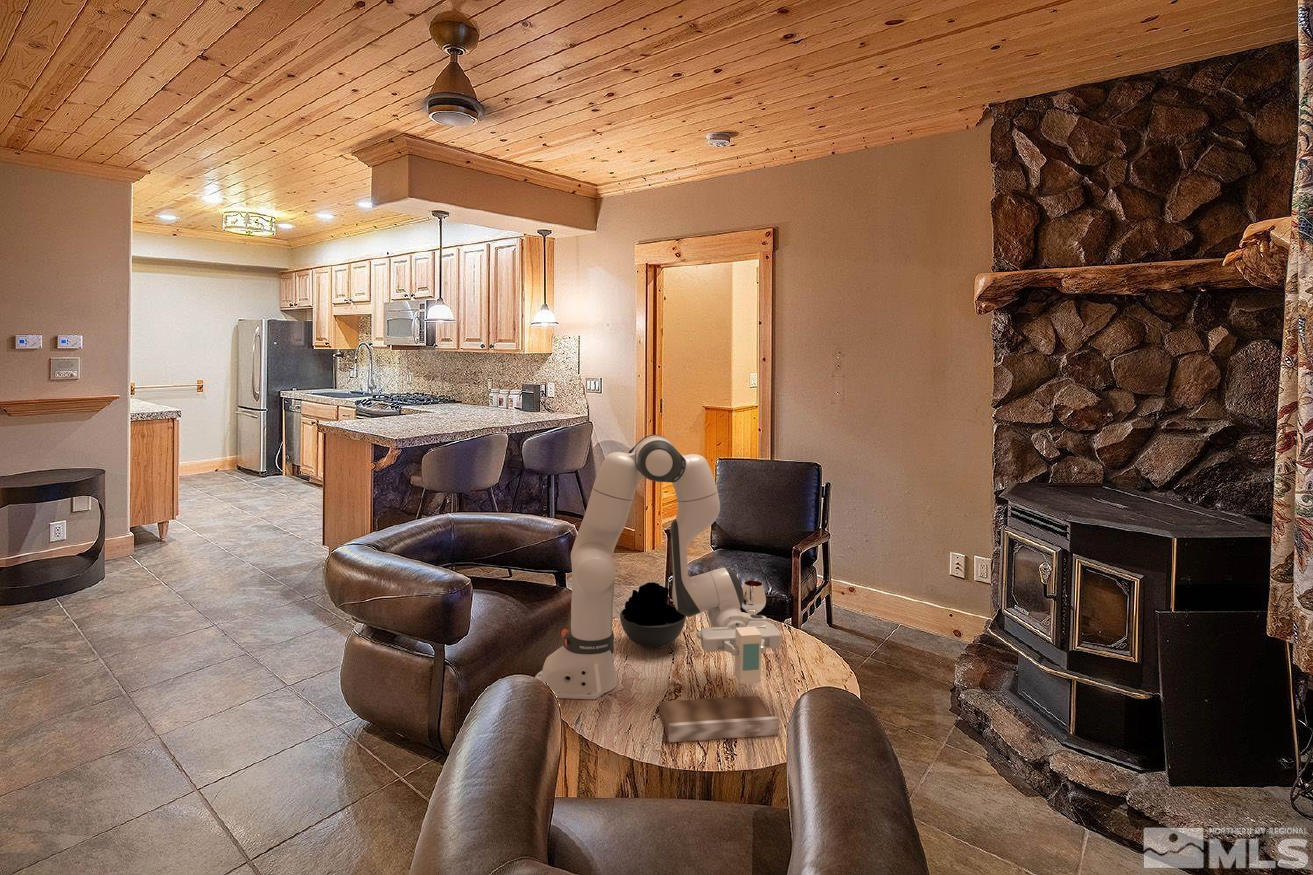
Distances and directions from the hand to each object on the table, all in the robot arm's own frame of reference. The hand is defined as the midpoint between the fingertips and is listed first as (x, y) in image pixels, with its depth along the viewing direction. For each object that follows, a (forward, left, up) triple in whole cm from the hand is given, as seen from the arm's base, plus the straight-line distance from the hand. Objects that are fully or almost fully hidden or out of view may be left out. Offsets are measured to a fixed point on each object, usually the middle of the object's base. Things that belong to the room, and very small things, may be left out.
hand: (748, 651), depth 168 cm
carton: (0, +1, -7) cm, 7 cm away
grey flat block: (-7, +2, -18) cm, 20 cm away
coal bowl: (-16, +47, -18) cm, 53 cm away
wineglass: (+16, +49, -18) cm, 55 cm away
